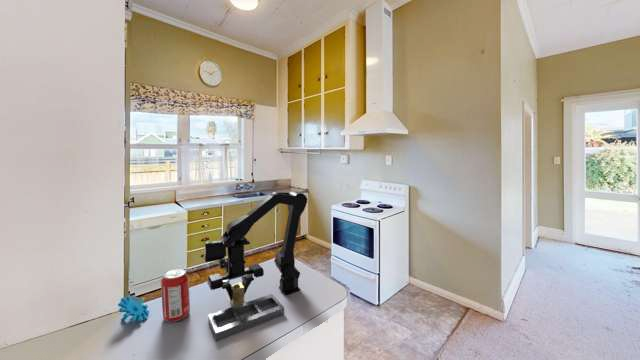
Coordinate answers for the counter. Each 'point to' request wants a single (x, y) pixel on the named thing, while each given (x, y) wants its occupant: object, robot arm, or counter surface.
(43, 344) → the counter surface
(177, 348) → the counter surface
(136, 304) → the gear
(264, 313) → the tray
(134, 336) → the counter surface
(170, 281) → the soda can
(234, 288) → the brass block
